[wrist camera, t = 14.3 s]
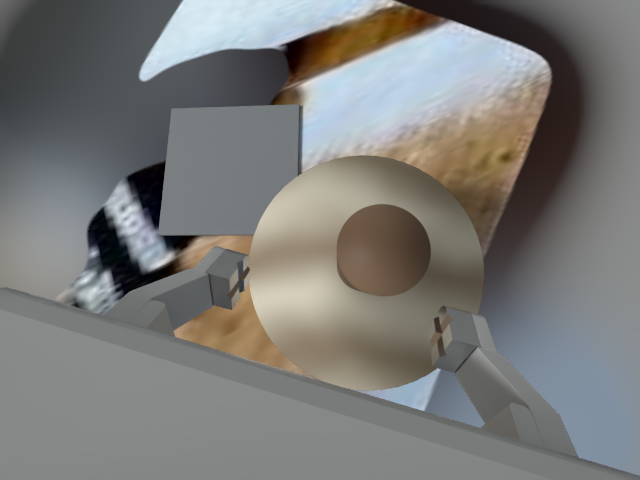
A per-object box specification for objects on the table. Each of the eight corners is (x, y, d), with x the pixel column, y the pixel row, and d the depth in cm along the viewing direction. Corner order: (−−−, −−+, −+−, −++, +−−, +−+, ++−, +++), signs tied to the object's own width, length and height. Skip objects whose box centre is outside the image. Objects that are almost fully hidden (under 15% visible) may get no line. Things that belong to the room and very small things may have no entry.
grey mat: (296, 235, 33) (296, 234, 32) (160, 235, 34) (158, 235, 33) (299, 106, 36) (299, 104, 35) (173, 110, 37) (171, 108, 36)
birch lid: (484, 388, 18) (641, 498, 9) (247, 379, 19) (161, 469, 10) (466, 161, 21) (573, 59, 11) (259, 164, 22) (200, 72, 12)
